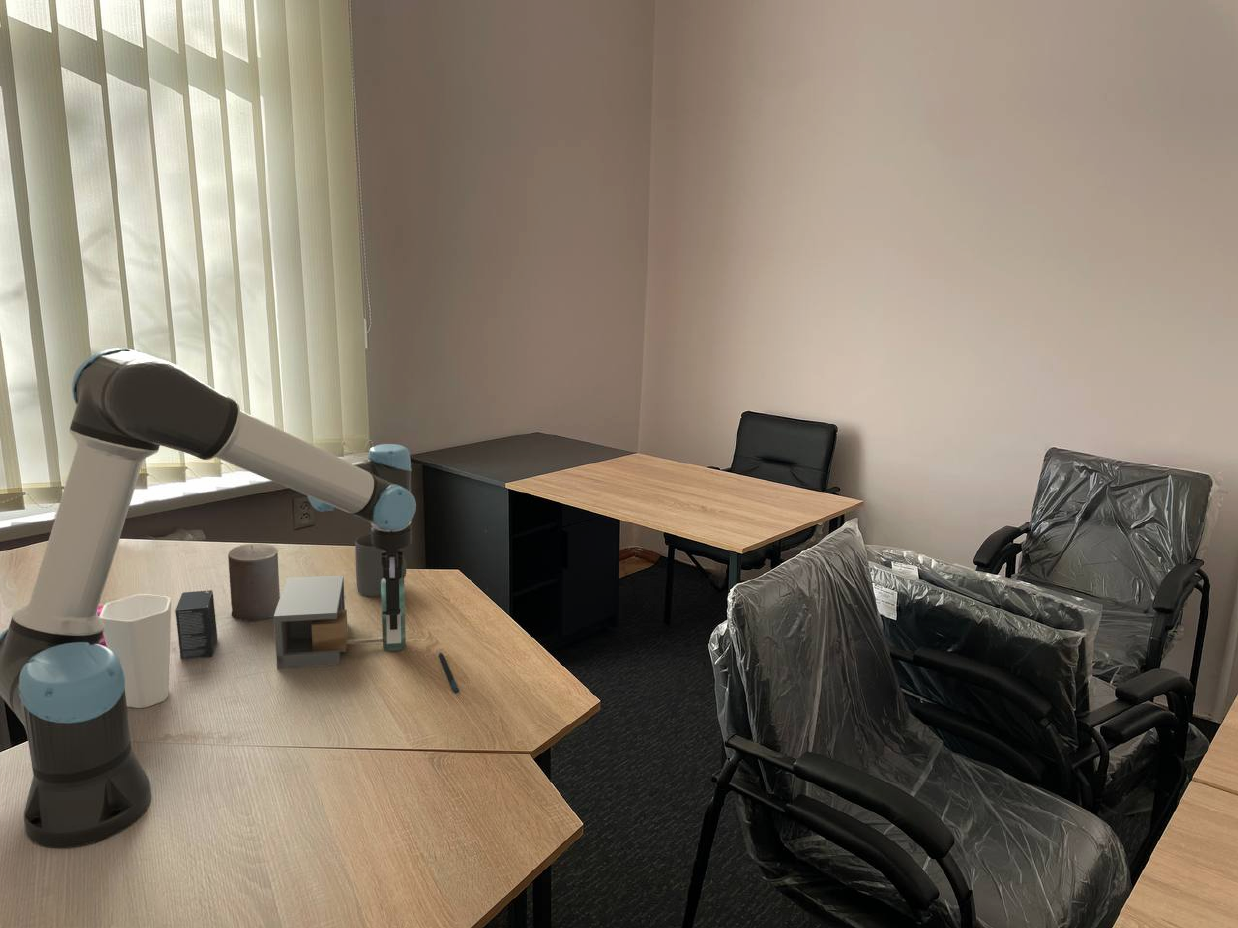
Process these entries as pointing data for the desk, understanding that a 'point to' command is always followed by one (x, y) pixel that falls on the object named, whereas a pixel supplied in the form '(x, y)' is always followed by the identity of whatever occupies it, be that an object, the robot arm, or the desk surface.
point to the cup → (140, 645)
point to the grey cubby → (306, 619)
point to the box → (196, 624)
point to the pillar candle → (254, 581)
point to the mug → (370, 567)
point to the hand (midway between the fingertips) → (394, 636)
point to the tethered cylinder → (336, 631)
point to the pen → (448, 673)
